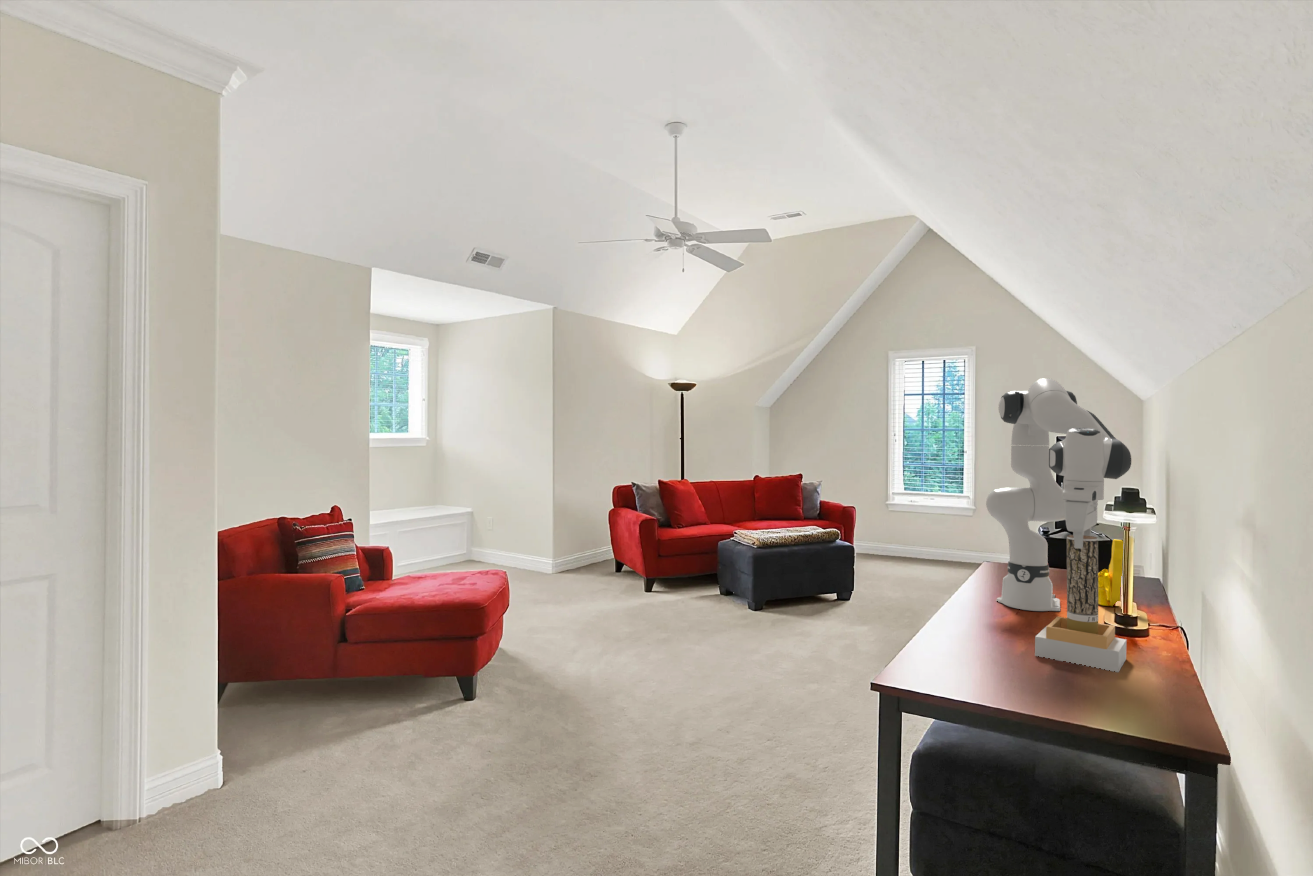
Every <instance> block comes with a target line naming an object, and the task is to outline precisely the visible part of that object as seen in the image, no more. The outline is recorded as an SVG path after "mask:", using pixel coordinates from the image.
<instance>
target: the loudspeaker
mask: <svg viewBox="0 0 1313 876" xmlns="http://www.w3.org/2000/svg"><path fill="white" fill-rule="evenodd" d="M1034 637H1035V638H1034V657H1038V656H1039V657H1038V658H1043V657H1045V658H1044V659H1048V658H1050V659H1049V660H1053V659H1055V660H1054V661H1058V662H1063V661H1066V662H1065V663H1069V662H1071V663H1070V664H1074V663H1076V665H1079V664H1082V665H1081V666H1084V665H1086V666H1085V667H1089V666H1091V667H1090V668H1094V667H1096V668H1095V669H1099V668H1101V669H1100V670H1104V669H1105V670H1106V671H1109V670H1110V672H1114V671H1115V672H1114V673H1119V672H1120V670H1121V669H1122V667H1123V665H1124V664H1125V662H1126V661H1127V640H1128V639H1126V638H1125V639H1124V638H1119V637H1116V625H1112V624H1107V623H1106V624H1105V623H1101V622H1098V634H1092V633H1086V632H1080V631H1074V630H1069V629H1067V617H1064V616H1063V617H1062V616H1056V617H1055V618H1054V619H1053V620H1052V621H1050V623H1049V624H1047V625H1046V626H1045V627H1043V628H1042V630H1040V632H1038V634H1036V635H1035V636H1034Z"/></svg>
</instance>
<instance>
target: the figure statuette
mask: <svg viewBox="0 0 1313 876" xmlns="http://www.w3.org/2000/svg"><path fill="white" fill-rule="evenodd" d="M1123 544H1124V541H1123V540H1122V539H1115V538H1114V539H1113V540H1112V543H1111V558H1110V562H1109V565H1108V569H1106V568H1104V569H1102V570H1101V571H1098V605H1100V606H1105V607H1113V605H1114V604H1115V603H1116V602H1117V601H1121V598H1120V587H1121V576H1122V577H1123V558H1124V557H1123V556H1124V549H1123Z"/></svg>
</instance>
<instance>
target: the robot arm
mask: <svg viewBox="0 0 1313 876" xmlns="http://www.w3.org/2000/svg"><path fill="white" fill-rule="evenodd" d="M998 413H999V416H1000V419H1001V420H1002V421H1003V422H1004V423H1007V424H1010V425H1013V426H1012V431H1011V432H1012V433H1011V444H1010V446H1011V448H1010V466H1011V469H1012V471H1014V474H1015V473H1016V474H1017V475H1019V476H1021V477H1023V478H1025V479H1027V480H1028V482H1029V486H1030V487H1011V486H1009V487H1008V486H1007V487H1001V488H996V489H995V488H994V489H993V490H991V491H990V492H989V494H988V495H987V498H986V503H985V504H986V505H985V506H986V508H987V509H986V510H987V511H988V513H989V514H990V516H991V517H992V518H993V519H995V520H996V521H997V522H999V523H1000V524H1001V526H1002V527H1003V529H1004V530H1005V532H1006V535H1007V539H1008V545H1009V547H1008V549H1009V561H1008V562H1007V574H1006V575H1005V576H1004V577H1003V578H1002V584H1001V585H1002V588H1001V596H999V597H996V599H995V601H996V602H997V601H998V603H1001V604H1003V605H1005V606H1007V607H1009V608H1013V609H1018V610H1019V609H1020V610H1023V611H1032V612H1048V611H1049V612H1061V599H1060V598H1057V597H1056V594H1053V592H1054V591H1053V589H1054V587H1053V586H1054V585H1053V582H1052V580H1051V579H1050V577H1049V576H1050V565H1049V563H1048V561H1049V560H1048V556H1049V555H1048V554H1049V553H1048V548H1049V547H1048V546H1049V544H1048V542H1047V540H1046V538H1045V537H1044V536H1042V535H1041V534H1039V533H1038V532H1035V531H1034V530H1031V529H1030V526H1029V522H1040V523H1041V522H1043V523H1045V522H1046V523H1047V522H1048V523H1049V522H1050V523H1053V522H1059V521H1065V526H1066V530H1067V531H1068V532H1072V535H1073V537H1074V547H1075V548H1079V549H1081V548H1083V547H1084V541H1083V535H1086V536H1091V533H1092V528H1093V527H1094V526H1096V525H1097V523H1098V505H1099V504H1098V503H1099V501H1103V500H1104V497H1105V492H1104V491H1105V479H1112V480H1117V479H1120V478H1121V477H1122V476H1124V475H1125V474H1126V473H1127V472H1129V471H1130V469H1131V467H1132V466H1131V465H1132V454H1131V452H1130V449H1129V448H1128V447H1127V445H1125V444H1124V442H1122V441H1121V440H1119V439H1117V438H1116V437H1115V436H1114V434H1112V432H1111V431H1110V430H1109V429H1108V428H1107V426H1106V425H1105V424H1104V423H1103V422H1102V421H1101V420H1100V419H1099V418H1098V417H1097V416H1096V415H1095V413H1092V412H1091V411H1089V410H1087V409H1085V408H1083V407H1082V406H1080V405H1078V401H1077V397H1076V395H1075V394H1074V393H1073V392H1072V391H1069V390H1066V389H1065V388H1064V387H1063V385H1062V384H1061V383H1059V382H1058V381H1057V380H1055V379H1053V378H1049V377H1048V378H1039V379H1037V380H1035V381H1034V382H1033V383H1032V384H1031V385H1030V386H1029V388H1028V390H1011V391H1008V392H1007V391H1006V392H1005V393H1004V394H1003V395H1001V398H1000V400H999V403H998ZM1050 433H1054V434H1061V435H1065V437H1064V439H1062V440H1061V441H1057V442H1055V443H1054V444H1053V445H1052V446H1051V447H1050ZM1052 472H1054V474H1056V475H1057V476H1063V484H1062V485H1063V486H1062V487H1061V486H1060V485H1059V484H1058V483H1057V482H1056V480H1055V478H1054V476H1053V474H1052Z"/></svg>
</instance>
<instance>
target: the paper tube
mask: <svg viewBox="0 0 1313 876" xmlns="http://www.w3.org/2000/svg"><path fill="white" fill-rule="evenodd" d="M1083 541H1084V547H1083V548H1081V549H1079V548H1075V547H1074V537H1073V534H1068V535H1066V618H1067V629H1069V630H1074V631H1080V632H1086V633H1092V634H1098V623H1099V604H1098V573H1099V538H1098V537H1097V536H1093V535H1090V536H1086V535H1083Z"/></svg>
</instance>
